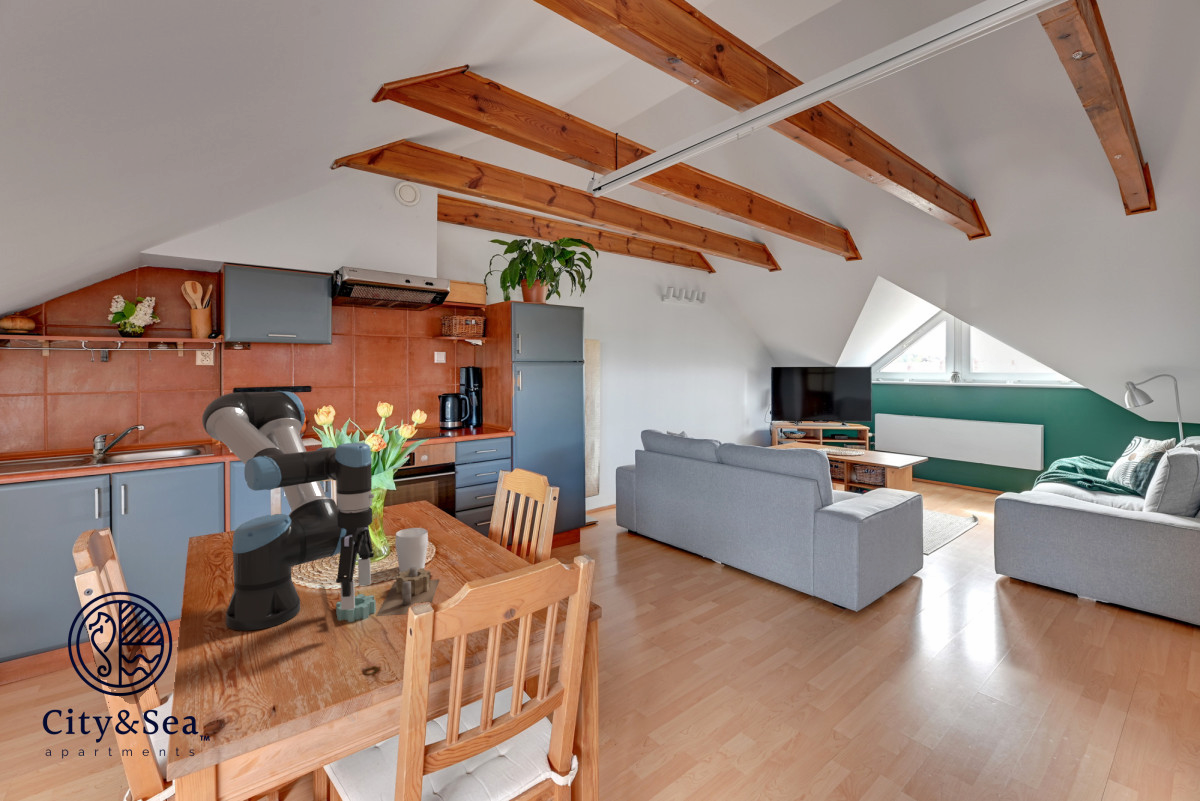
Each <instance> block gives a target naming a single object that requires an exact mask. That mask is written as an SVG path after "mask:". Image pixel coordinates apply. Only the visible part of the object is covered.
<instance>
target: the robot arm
mask: <svg viewBox="0 0 1200 801" xmlns="http://www.w3.org/2000/svg"><path fill="white" fill-rule="evenodd" d="M304 411H305V407H304V404H303V402H302V401H301V398H300V397H299V396H298V395H297V394H296V393H293V392H291V391H281V390H275V391H261V392H260V391H259V392H258V391H255V392H254V391H252V392H251V391H249V392H248V391H247V392H241V391H240V392H230V393H226V394H224V395H220V396H218V397H217V398H215V399H214V400H212V401H210V403H209V404H208V405H207V406H206V408H205V410H204V411H203V414H202V417H201V419H202V420H201V422H202V427H203V429H204V430H205V432H206V433H207V434H208V436H210V437H211V438H213V440H216V441H219V442H222V443H223V444H224V446H226V447H227V448H228V449H229V450H230V451H231V453H232V454H233V455H235V456H236V457H237V458H238V459H239V460H240V462H241V463H243V465H244V470H243V471H244V472H243V473H244V480H245V482H246V486H247V487H248V488H249V489H250V490H251V491H254V492H255V491H266V490H267V491H271V490H274V489H279V488H282V490H283V493H284V495H285V498H286V500H287V503H288V505H289V508H290V510H291V511H290V512H289V514H286V513H285V514H284V513H276V514H267V515H263V516H260V517H255V518H253V519H250V520H248V521H245V522H243V523H242V524H241V525H239V526H238V527H236V529H235V531H234V532H233V535H232V537H233V538H232V545H231V546H232V547H231V551H232V558H233V562H232V563H233V564H232V565H233V585H234V586H233V587H234V588H233V592H232V595H231V599H230V601H229V604H228V607H227V610H226V614H225V625H226V626H227V628H229V629H231V630H235V631H241V632H242V631H246V632H247V631H257V630H262V629H268V628H271V627H275V626H277V625H280V624H284V623H285V622H287V621H289V620H291V619H293V618H294V617H296V616H297V615H298V614H299V613H300V611H301V599H300V596H299V594H298V591H297V588H296V586H295V584H294V582H293V578H292V567H295V566H300V565H302V564H307V563H310V562H314V561H317V560H322V559H326V558H329V557H330V558H331V557H334V556H335V555H338V554H339V561H338V568H337V577H336V579H335V583H336V584H340V602H341V610H348V609H354V608H355V596H356V595H355V579H354V573H355V567H356V562H357V563H358V565H357V569H358V572H357V573H358V575H357V576H358V577H357V578H358V586H359V587H360V586H370V585H371V584H372V576H371V575H372V574H371V572H372V571H371V558H374V557H375V556H374V555H375V553H374V551H373V550H374V549H373V543H372V539H371V533H370V528H369V526H371V524H372V523H373V509H372V508H371V507H372V505H373V498H375V494H374V493H372V484H373V483H372V482H373V480H372V478H373V476H372V460H373V459H372V456H371V455H372V453H371V446H370V445H369V444H367V443H365V442H348V443H347V442H346V443H342V444H338V445H337V446H336V447H333V446H329V447H328V446H327V447H326V446H325V447H319V448H317V449H315V450H309V451H308V450H307V449H306V446H305V444H304V442H303V440H302V437H301V435H300V432H301V431H302V428H303V426H304V424H305V421H306V413H305V412H304ZM329 480H332V481H336V501H335V499H333V498H331V497H327V496H326V493H325V492H324V489H323V487H322V485H321V482H323V481H329ZM357 556H358V560H357Z"/></svg>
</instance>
